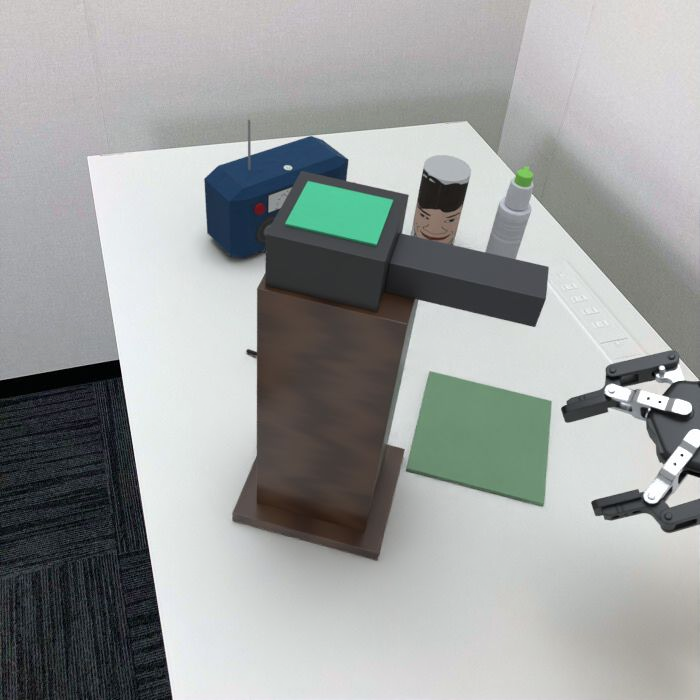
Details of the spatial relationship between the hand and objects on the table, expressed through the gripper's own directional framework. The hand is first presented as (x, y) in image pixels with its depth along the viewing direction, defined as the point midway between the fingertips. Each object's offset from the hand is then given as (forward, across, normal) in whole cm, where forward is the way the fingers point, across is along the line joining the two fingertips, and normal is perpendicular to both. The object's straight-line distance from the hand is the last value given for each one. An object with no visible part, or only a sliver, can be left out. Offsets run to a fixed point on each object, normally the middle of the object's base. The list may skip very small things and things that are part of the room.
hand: (577, 460), depth 61 cm
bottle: (+4, -41, +31) cm, 52 cm away
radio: (+32, -56, +20) cm, 67 cm away
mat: (+10, -15, +23) cm, 29 cm away
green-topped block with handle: (+9, -13, -14) cm, 21 cm away
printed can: (+11, -50, +29) cm, 59 cm away
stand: (+27, -10, +13) cm, 31 cm away
